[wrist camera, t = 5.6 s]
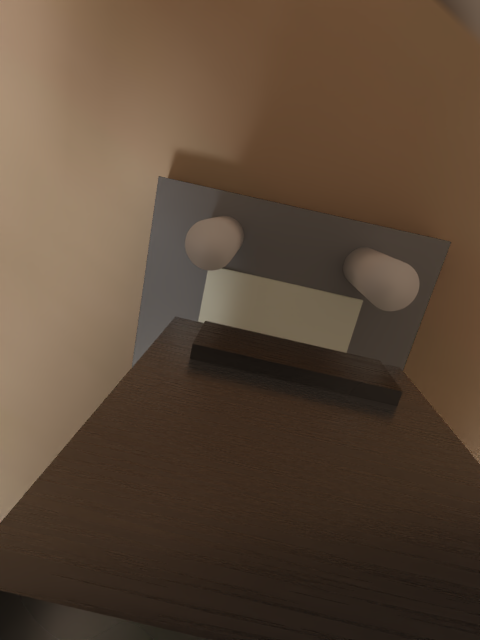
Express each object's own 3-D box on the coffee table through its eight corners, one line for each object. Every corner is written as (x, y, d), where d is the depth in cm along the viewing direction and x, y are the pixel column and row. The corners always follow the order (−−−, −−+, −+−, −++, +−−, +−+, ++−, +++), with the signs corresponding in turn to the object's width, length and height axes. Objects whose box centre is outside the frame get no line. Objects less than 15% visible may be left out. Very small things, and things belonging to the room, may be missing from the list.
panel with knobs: (326, 543, 16) (344, 647, 12) (120, 495, 16) (74, 584, 12) (437, 239, 12) (512, 253, 8) (167, 178, 12) (121, 166, 9)
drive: (296, 646, 10) (330, 1181, 4) (125, 606, 10) (-47, 1090, 4) (403, 355, 7) (770, 755, 2) (177, 304, 7) (-65, 563, 2)
